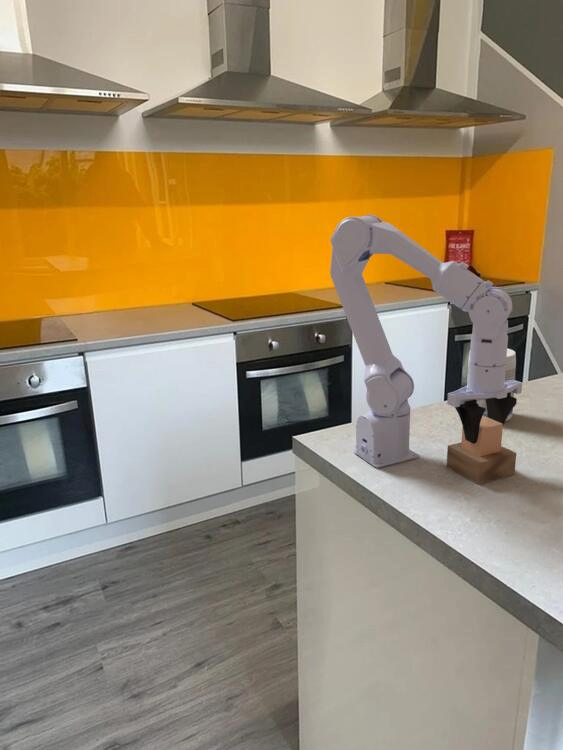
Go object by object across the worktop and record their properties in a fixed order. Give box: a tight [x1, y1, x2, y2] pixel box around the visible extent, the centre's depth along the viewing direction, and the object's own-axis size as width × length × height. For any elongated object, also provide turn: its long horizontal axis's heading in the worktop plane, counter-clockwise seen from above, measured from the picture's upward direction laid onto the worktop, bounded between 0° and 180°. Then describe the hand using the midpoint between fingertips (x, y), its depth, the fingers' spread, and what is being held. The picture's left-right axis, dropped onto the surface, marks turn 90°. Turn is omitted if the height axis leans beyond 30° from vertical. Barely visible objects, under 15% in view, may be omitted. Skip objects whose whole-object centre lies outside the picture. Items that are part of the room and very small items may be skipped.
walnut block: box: [446, 441, 517, 485], centre depth 102 cm, size 8×8×4 cm
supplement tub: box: [466, 348, 517, 423], centre depth 125 cm, size 10×10×15 cm
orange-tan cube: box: [461, 416, 504, 456], centre depth 101 cm, size 5×5×5 cm
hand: (482, 438), depth 101 cm, fingers closed on orange-tan cube, 4 cm apart
